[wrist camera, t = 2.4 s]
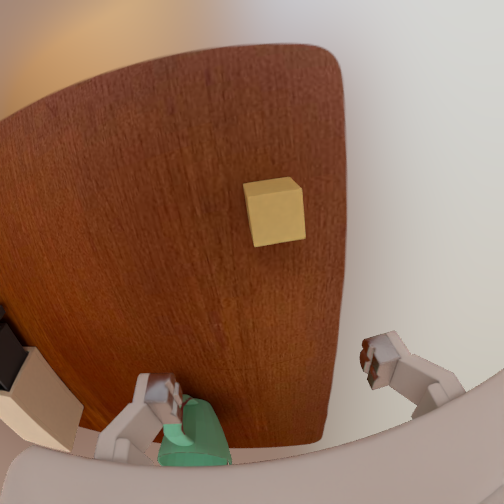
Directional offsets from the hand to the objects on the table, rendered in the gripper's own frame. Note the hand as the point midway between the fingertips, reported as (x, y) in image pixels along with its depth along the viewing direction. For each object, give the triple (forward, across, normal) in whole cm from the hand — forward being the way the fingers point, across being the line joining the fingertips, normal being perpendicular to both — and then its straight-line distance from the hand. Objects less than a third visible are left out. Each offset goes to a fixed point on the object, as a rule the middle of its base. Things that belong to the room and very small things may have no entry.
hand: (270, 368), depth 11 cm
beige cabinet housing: (+16, +38, +20) cm, 46 cm away
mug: (+16, +11, +24) cm, 31 cm away
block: (+16, -2, -2) cm, 16 cm away
